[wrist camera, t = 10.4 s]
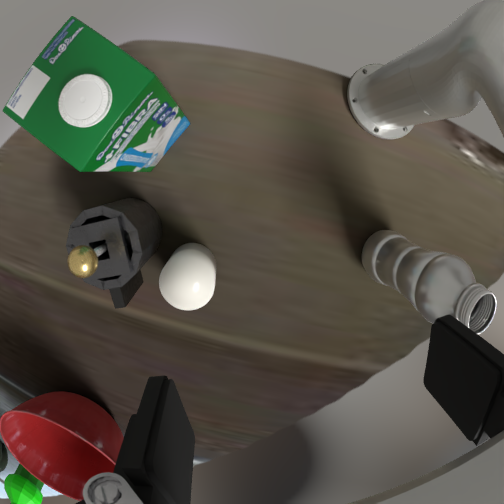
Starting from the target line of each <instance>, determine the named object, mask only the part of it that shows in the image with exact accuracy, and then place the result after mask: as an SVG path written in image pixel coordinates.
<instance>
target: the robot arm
mask: <svg viewBox="0 0 504 504" xmlns="http://www.w3.org/2000/svg"><path fill="white" fill-rule="evenodd" d="M347 98H348V104H349V107H350V110H351V112H352V114H353V116H354V118H355V119H356V121H357V122H358V124H359V125H360V126H361V127H362V128H363V129H364V130H366V131H367V132H368V133H370V134H371V135H373V136H375V137H378V138H381V139H389V140H390V139H397V138H400V137H403V136H404V135H406V134H407V133H409V132H410V131H411V129H412V128H413V126H414V125H416V124H421V123H426V122H431V121H437V120H442V119H448V118H454V117H459V116H462V115H466V114H468V113H470V112H471V111H472V110H473V109H474V108H475V107H476V106H477V105H478V103H479V101H480V100H481V98H483V99H484V101H485V103H486V105H487V106H488V108H489V110H490V111H491V113H492V115H493V116H494V118H495V120H496V122H497V124H498V126H499V128H500V130H501V132H502V134H503V137H504V1H503V0H483V1H481V2H478V3H476V4H475V5H473V6H472V7H470V8H469V9H467V10H466V11H465V12H464V13H463V14H462V15H460V16H459V17H458V18H457V19H456V20H455V21H454V22H453V23H452V24H450V25H449V26H448V27H446V28H445V29H444V30H442V31H441V32H440V33H438V34H436V35H435V36H433V37H432V38H430V39H428V40H427V41H425V42H423V43H422V44H420V45H418V46H416V47H415V48H413V49H411V50H409V51H407V52H406V53H404V54H402V55H401V56H399V57H397V58H396V59H394V60H392V61H391V62H389V63H387V64H386V65H382V64H370V65H366V66H364V67H362V68H360V69H359V70H358V71H356V72H355V73H354V75H353V76H352V77H351V79H350V81H349V85H348V89H347ZM352 100H353V101H354V102H353V101H352ZM374 130H375V132H374ZM424 385H425V387H426V389H427V390H428V391H429V392H430V393H431V395H432V396H433V397H434V398H435V399H436V401H437V402H438V403H439V404H440V405H441V407H442V408H443V409H444V410H445V411H446V413H447V414H448V415H449V416H450V418H451V419H452V420H453V421H454V423H455V424H456V425H457V426H458V427H459V429H460V430H461V431H462V433H463V434H464V435H465V436H466V438H467V439H468V440H470V441H473V442H474V443H475V444H476V446H477V445H479V444H480V443H482V442H484V441H485V440H487V439H488V437H490V438H491V439H489V440H488V441H486V442H485V443H483V444H482V445H480V446H478V447H477V448H475V449H473V450H472V451H470V452H468V453H466V454H465V455H463V456H461V457H459V458H457V459H456V460H454V461H452V462H450V463H448V464H446V465H444V466H442V467H440V468H438V469H436V470H434V471H432V472H430V473H428V474H426V475H424V476H422V477H419V478H417V479H415V480H412V481H410V482H408V483H405V484H403V485H400V486H398V487H395V488H393V489H390V490H387V491H385V492H382V493H379V494H376V495H374V496H371V497H368V498H365V499H362V500H358V501H355V502H352V503H348V504H504V354H502V353H501V352H500V351H499V350H497V349H496V348H494V347H493V346H492V345H491V344H489V343H488V342H487V341H486V340H484V339H483V338H482V337H480V336H479V335H478V334H476V333H475V332H474V331H472V330H471V329H470V328H468V327H467V326H465V325H464V324H463V323H461V322H460V321H459V320H457V319H456V318H455V317H453V316H452V315H450V314H449V315H445V316H442V317H439V318H437V319H436V320H435V322H434V324H433V325H432V328H431V336H430V343H429V350H428V357H427V363H426V369H425V374H424ZM194 445H195V436H194V432H193V429H192V427H191V424H190V422H189V420H188V417H187V415H186V412H185V410H184V407H183V405H182V402H181V399H180V397H179V394H178V391H177V389H176V386H175V383H174V381H173V380H172V379H169V380H168V378H167V376H155V377H149V379H148V382H147V384H146V387H145V390H144V394H143V397H142V400H141V403H140V406H139V409H138V412H137V414H133V415H132V416H131V418H130V420H129V423H128V426H127V429H126V432H125V435H124V439H123V442H122V445H121V448H120V451H119V454H118V458H117V461H116V464H115V467H114V471H113V473H110V472H106V473H100V474H97V475H95V476H93V477H92V478H90V479H89V480H88V481H87V483H86V484H85V486H84V488H83V497H84V499H83V500H82V501H80V502H78V503H76V504H190V500H191V483H192V471H193V458H194Z"/></svg>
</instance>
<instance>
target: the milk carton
mask: <svg viewBox="0 0 504 504" xmlns="http://www.w3.org/2000/svg"><path fill="white" fill-rule="evenodd" d="M3 112H4V113H6V114H7V115H8V116H9V117H10V118H12V119H13V120H14V121H15V122H17V123H18V124H19V125H20V126H22V127H23V128H24V129H25V130H27V131H28V132H29V133H30V134H32V135H33V136H34V137H35V138H37V139H38V140H39V141H40V142H42V143H43V144H44V145H46V146H47V147H48V148H49V149H51V150H52V151H53V152H55V153H56V154H57V155H59V156H60V157H61V158H62V159H64V160H65V161H66V162H68V163H69V164H70V165H72V166H73V167H74V168H76V169H77V170H78V171H79V172H96V171H127V172H151V171H152V169H153V168H154V167H155V166H156V164H157V163H158V162H159V161H160V159H161V158H162V157H163V156H164V154H165V153H166V152H167V151H168V149H169V148H170V147H171V146H172V145H173V143H174V142H175V141H176V140H177V139H178V137H179V136H180V135H181V134H182V133H183V132H184V130H185V129H186V128H187V127H188V126H189V125H190V122H189V121H188V119H187V118H186V116H185V115H184V114H183V112H182V111H181V109H180V108H179V107H178V105H177V104H176V102H175V101H174V100H173V98H172V97H171V95H170V94H169V93H168V91H167V90H166V89H165V87H164V86H163V84H162V83H161V82H160V80H159V79H158V78H157V76H156V75H155V74H154V73H153V72H152V71H150V70H149V69H148V68H146V67H145V66H144V65H142V64H141V63H140V62H138V61H137V60H136V59H134V58H133V57H132V56H130V55H129V54H127V53H126V52H125V51H123V50H122V49H120V48H119V47H118V46H116V45H115V44H113V43H112V42H111V41H109V40H108V39H106V38H105V37H103V36H102V35H100V34H99V33H97V32H96V31H95V30H93V29H92V28H90V27H89V26H87V25H86V24H84V23H83V22H81V21H80V20H78V19H77V18H75V17H73V16H71V17H70V19H69V20H68V21H67V22H66V23H65V24H64V25H63V27H62V28H61V29H60V30H59V31H58V32H57V33H56V35H55V36H54V37H53V38H52V40H51V41H50V42H49V43H48V44H47V46H46V47H45V48H44V49H43V51H42V52H41V53H40V55H39V56H38V57H37V59H36V60H35V62H34V63H33V64H32V66H31V67H30V68H29V70H28V71H27V73H26V74H25V76H24V77H23V79H22V80H21V82H20V83H19V85H18V86H17V88H16V89H15V91H14V93H13V94H12V96H11V97H10V99H9V101H8V102H7V104H6V106H5V107H4V109H3Z"/></svg>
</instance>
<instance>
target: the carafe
mask: <svg viewBox="0 0 504 504" xmlns="http://www.w3.org/2000/svg"><path fill="white" fill-rule="evenodd" d="M122 226H123V228H124V229H125V230H126V231H127V232H128V234H129V236H130V240H131V245H132V249H133V254H132V255H129V254H128V249H127V245H126V241H125V237H124V232H123V228H122ZM161 238H162V224H161V220H160V218H159V215H158V214H157V212H156V211H155V209H154V208H153V207H152V206H151V205H149V204H148V203H147V202H145V201H143V200H140V199H135V198H128V199H123V200H119V201H115V202H111V203H108V204H104V205H101V206H97V207H94V208H90V209H87V210H83V211H82V213H81V214H80V215H79V216H78V217H77V218H76V219H75V220H74V222H73V223H72V224H71V225H70V229H69V234H68V239H67V244H66V247H67V251H68V255H69V254H70V252H71V251H72V249H73V248H75V247H77V246H79V245H86V246H89V247H91V248H92V249H93V250H94V249H95V248H97V247H98V246H100V245H102V244H103V243H105V242H106V244H107V248H108V250H107V251H105V252H104V253H102V254H101V255H100V256H98V267H97V270H96V271H95V273H94V274H93V275H91V276H90V277H87V278H82V279H83V280H84V282H86V283H88V284H91V285H93V286H95V287H98V288H100V289H103V290H105V289H109V290H110V293H111V296H112V300H113V303H114V306H115V308H123V307H126V306H127V304H128V303H129V301H130V300H131V299H132V297H133V296H134V294H135V293H136V292H137V290H138V289H139V288H140V286H141V285H142V283H143V278H142V274H141V271H140V269H141V268H142V266H143V265H144V264H145V263H146V262H147V261H148V260H149V258H150V257H151V256H152V255H153V254H154V253H155V252H156V250H157V249H158V246H159V244H160V241H161Z"/></svg>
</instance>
